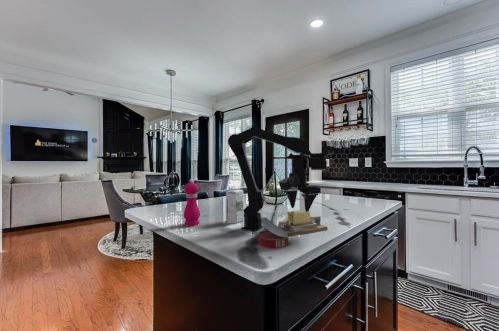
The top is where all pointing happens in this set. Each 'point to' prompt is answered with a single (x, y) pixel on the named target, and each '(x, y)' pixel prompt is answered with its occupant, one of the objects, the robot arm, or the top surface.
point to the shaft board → (298, 230)
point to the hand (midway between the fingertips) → (299, 209)
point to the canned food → (272, 236)
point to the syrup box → (234, 206)
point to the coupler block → (298, 218)
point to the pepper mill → (191, 204)
